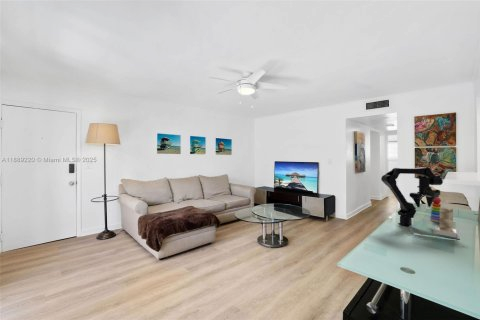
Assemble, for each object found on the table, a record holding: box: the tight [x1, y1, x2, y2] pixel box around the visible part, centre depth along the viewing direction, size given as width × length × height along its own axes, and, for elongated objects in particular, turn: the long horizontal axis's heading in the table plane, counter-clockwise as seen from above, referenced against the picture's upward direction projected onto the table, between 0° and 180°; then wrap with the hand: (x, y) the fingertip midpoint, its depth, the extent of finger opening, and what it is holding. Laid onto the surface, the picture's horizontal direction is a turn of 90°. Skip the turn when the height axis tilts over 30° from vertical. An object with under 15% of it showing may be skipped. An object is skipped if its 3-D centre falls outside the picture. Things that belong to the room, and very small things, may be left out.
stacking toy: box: [429, 196, 442, 223], centre depth 162 cm, size 8×8×19 cm
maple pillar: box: [439, 206, 454, 231], centre depth 134 cm, size 5×5×13 cm
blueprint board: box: [432, 224, 461, 241], centre depth 139 cm, size 24×12×4 cm, turn 136°
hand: (423, 207), depth 154 cm, fingers open, 9 cm apart
